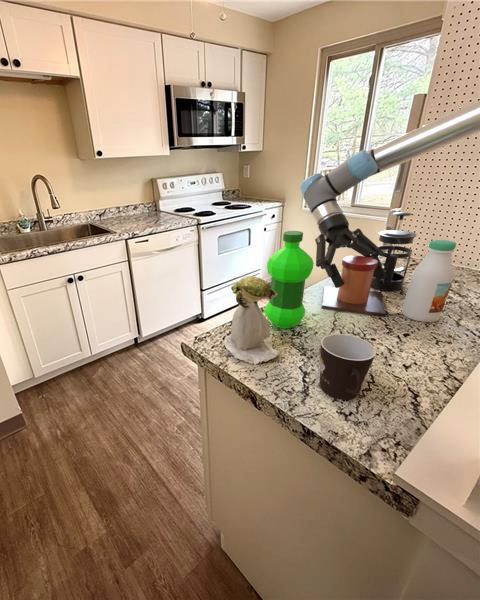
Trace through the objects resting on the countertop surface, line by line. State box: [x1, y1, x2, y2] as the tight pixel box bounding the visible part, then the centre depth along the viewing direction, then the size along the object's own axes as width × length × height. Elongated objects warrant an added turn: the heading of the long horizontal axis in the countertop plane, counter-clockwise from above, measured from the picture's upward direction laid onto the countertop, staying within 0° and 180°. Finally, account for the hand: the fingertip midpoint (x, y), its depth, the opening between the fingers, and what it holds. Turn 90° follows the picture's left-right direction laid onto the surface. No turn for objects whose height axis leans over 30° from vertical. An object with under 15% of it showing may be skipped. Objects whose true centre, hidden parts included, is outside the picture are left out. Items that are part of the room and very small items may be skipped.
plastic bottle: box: [264, 230, 314, 329], centre depth 79 cm, size 10×10×25 cm
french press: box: [370, 211, 418, 292], centre depth 94 cm, size 12×9×23 cm
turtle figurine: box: [223, 275, 280, 366], centre depth 72 cm, size 12×13×18 cm
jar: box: [337, 266, 375, 304], centre depth 89 cm, size 8×8×12 cm
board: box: [320, 285, 387, 318], centre depth 92 cm, size 15×15×1 cm
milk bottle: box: [401, 239, 457, 323], centre depth 77 cm, size 8×8×20 cm
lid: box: [341, 255, 378, 271], centre depth 87 cm, size 8×8×2 cm
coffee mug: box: [319, 333, 377, 401], centre depth 58 cm, size 12×9×10 cm
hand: (361, 282), depth 87 cm, fingers open, 13 cm apart
